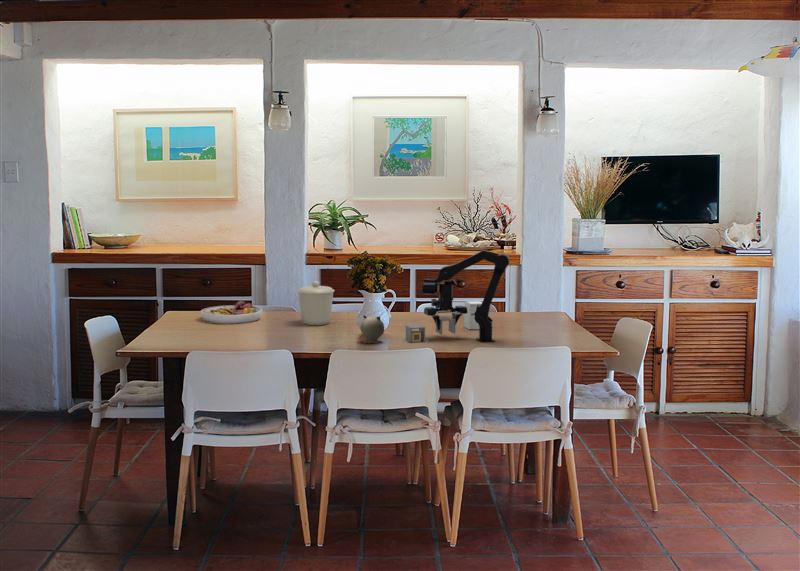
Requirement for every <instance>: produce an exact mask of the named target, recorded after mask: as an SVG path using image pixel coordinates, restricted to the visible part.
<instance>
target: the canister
mask: <svg viewBox="0 0 800 571" xmlns="http://www.w3.org/2000/svg"><path fill="white" fill-rule="evenodd" d="M296 292H297V293H298V301H299V310H300V317H301V321H302V323H303V324H304V325H308V326H324V325H328V324H329V323H330V321H331V316H332V309H333V308H332V307H333V300H334V292H335V289H333V288H332V287H331V286H328V285H320V281H318V280H313V281H312V282H311V285H307V286H306V285H305V286H302V287H300V288H299V289H297V290H296Z"/></svg>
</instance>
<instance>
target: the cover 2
mask: <svg viewBox="0 0 800 571" xmlns="http://www.w3.org/2000/svg"><path fill="white" fill-rule="evenodd" d="M447 321H448V331H449V333H451V334H454V335H455V334H456V325H455V319H454V318H453V317H451V316H439V330H437V327H436V326H435V332H436V333H437V334H440V335H443V322H447Z"/></svg>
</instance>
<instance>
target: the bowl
mask: <svg viewBox="0 0 800 571" xmlns="http://www.w3.org/2000/svg"><path fill="white" fill-rule="evenodd" d="M262 314H263V308H262V307H259V306H255V305H254V306H253V304H252V303H250V302H248V303H246V302H245V301H243V300H239V301H237V302H236V303H235V304H234V305H233V304H232V305H231V304H230V305H217V306H209V307H206V308H203V309H201V310H200V315H201V318H202V319H203V320H204V321H206V322H207V323H212V324H222V325H223V324H224V325H234V324H236V325H237V323H238V324H245V323H252V322H255V321H257V320H258V319H260V318H261V317H262V316H263V315H262Z"/></svg>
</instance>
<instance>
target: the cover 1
mask: <svg viewBox="0 0 800 571" xmlns="http://www.w3.org/2000/svg"><path fill="white" fill-rule="evenodd" d="M413 330H418V331H419V332H421V342H423V341H424V342H423V343H425V342H426V326H424V325H422V324H420V323H419V324H406V325H405V340H406V341H407V342H409V343H413V342H412V331H413Z"/></svg>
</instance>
